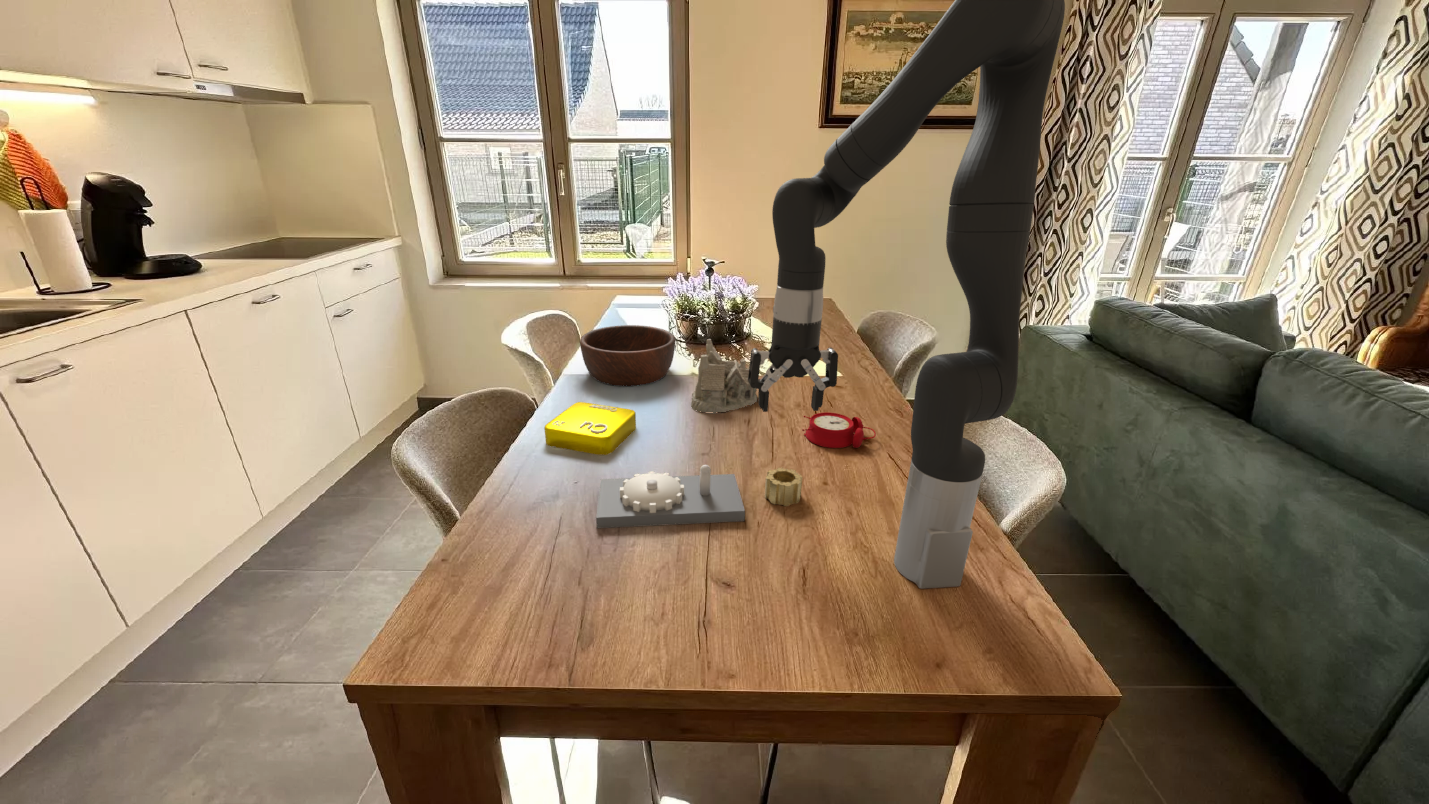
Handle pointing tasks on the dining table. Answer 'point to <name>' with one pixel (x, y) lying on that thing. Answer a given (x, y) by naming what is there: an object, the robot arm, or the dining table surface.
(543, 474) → the dining table surface
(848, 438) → the alarm clock
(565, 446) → the element tile
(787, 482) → the brass gear
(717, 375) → the ceramic cottage
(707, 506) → the gear board
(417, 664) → the dining table surface
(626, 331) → the wooden bowl
